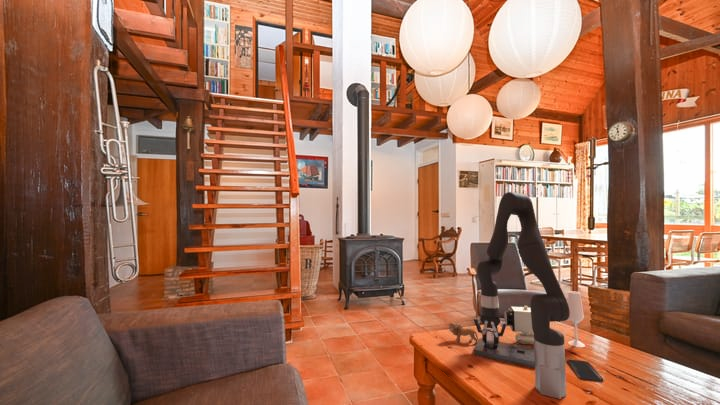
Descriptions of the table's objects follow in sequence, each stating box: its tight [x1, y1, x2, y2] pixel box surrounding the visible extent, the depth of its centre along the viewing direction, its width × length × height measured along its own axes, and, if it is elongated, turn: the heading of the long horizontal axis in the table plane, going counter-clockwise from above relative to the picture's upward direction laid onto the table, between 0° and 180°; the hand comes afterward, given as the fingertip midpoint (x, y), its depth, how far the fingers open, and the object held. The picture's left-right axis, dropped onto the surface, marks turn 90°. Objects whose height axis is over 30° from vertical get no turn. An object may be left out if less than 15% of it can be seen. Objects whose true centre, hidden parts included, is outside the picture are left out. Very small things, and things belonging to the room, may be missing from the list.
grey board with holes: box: [472, 337, 535, 369], centre depth 139 cm, size 14×24×2 cm, turn 59°
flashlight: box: [486, 328, 496, 350], centre depth 142 cm, size 4×4×8 cm
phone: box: [566, 358, 604, 383], centre depth 124 cm, size 8×1×15 cm
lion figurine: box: [448, 321, 479, 345], centre depth 153 cm, size 15×5×9 cm, turn 78°
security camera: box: [503, 305, 551, 346], centre depth 150 cm, size 18×8×18 cm, turn 75°
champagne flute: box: [567, 290, 586, 348], centre depth 149 cm, size 7×7×24 cm
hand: (490, 343), depth 142 cm, fingers closed on flashlight, 4 cm apart
